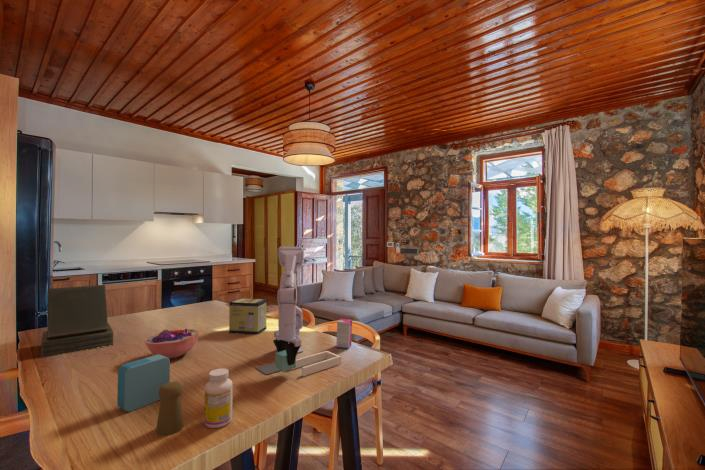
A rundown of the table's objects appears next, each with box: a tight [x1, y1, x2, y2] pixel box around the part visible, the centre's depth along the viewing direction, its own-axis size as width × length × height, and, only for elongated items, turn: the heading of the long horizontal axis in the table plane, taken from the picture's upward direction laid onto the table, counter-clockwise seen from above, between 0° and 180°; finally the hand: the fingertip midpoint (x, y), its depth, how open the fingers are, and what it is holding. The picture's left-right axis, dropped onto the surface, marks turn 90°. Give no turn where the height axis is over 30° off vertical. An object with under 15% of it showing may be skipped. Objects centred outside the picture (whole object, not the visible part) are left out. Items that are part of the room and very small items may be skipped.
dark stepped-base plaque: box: [40, 284, 114, 358], centre depth 143 cm, size 23×20×25 cm
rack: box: [290, 350, 342, 377], centre depth 121 cm, size 8×17×3 cm, turn 133°
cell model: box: [143, 328, 199, 360], centre depth 131 cm, size 17×20×11 cm
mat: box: [255, 361, 282, 376], centre depth 119 cm, size 8×8×1 cm
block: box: [274, 350, 297, 372], centre depth 113 cm, size 5×5×5 cm
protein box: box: [228, 298, 267, 335], centre depth 167 cm, size 10×16×16 cm
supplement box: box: [335, 318, 353, 350], centre depth 144 cm, size 6×6×12 cm
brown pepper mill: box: [155, 381, 184, 437], centre depth 81 cm, size 6×6×11 cm
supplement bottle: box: [204, 367, 233, 429], centre depth 84 cm, size 7×7×13 cm
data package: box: [116, 355, 171, 413], centre depth 94 cm, size 12×4×12 cm, turn 148°
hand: (286, 362), depth 113 cm, fingers closed on block, 5 cm apart
